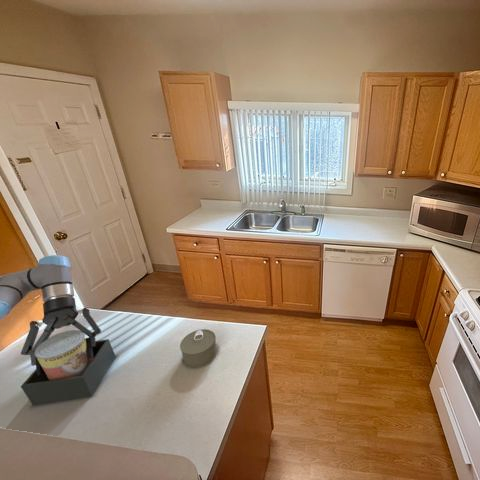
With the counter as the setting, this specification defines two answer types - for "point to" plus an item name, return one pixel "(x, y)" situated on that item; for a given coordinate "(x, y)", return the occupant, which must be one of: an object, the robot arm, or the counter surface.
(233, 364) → the counter surface
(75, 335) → the canned food
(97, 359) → the open dark gray bin
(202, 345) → the can
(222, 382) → the counter surface
